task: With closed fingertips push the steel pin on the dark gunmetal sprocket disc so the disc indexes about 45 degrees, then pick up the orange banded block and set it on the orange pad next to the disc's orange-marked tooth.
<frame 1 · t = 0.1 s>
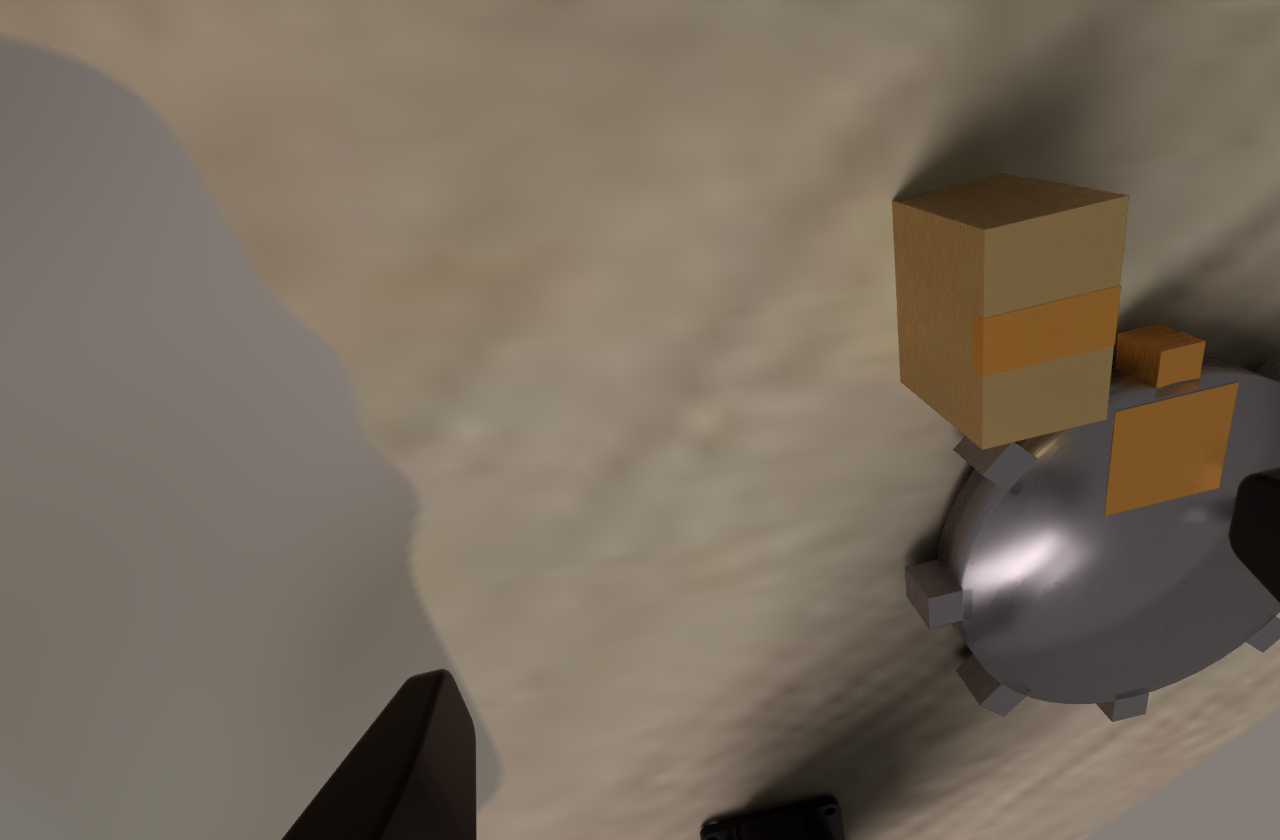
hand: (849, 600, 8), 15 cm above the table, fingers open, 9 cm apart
sprocket: (1177, 578, 24), point 3 cm above the table, hinge at 0.0°
orange banded block: (948, 283, 22), on the table
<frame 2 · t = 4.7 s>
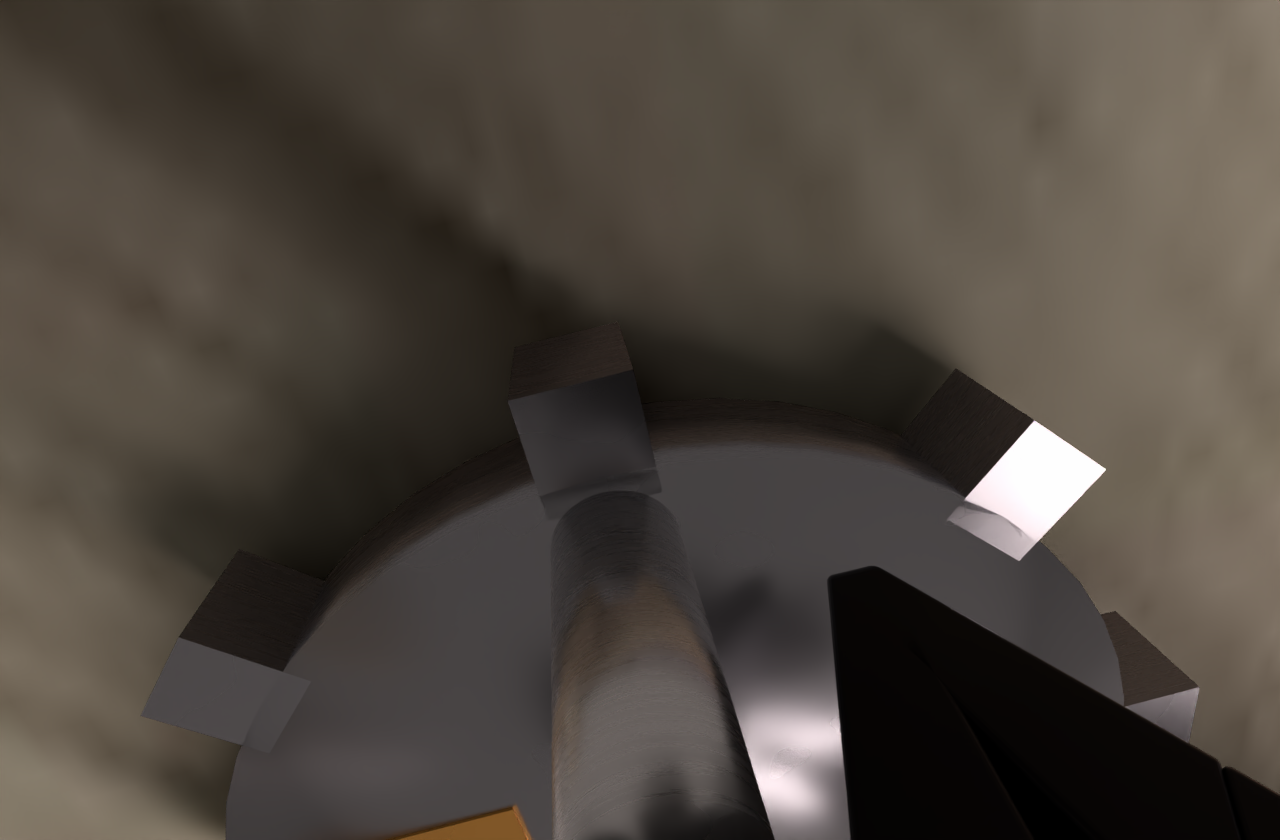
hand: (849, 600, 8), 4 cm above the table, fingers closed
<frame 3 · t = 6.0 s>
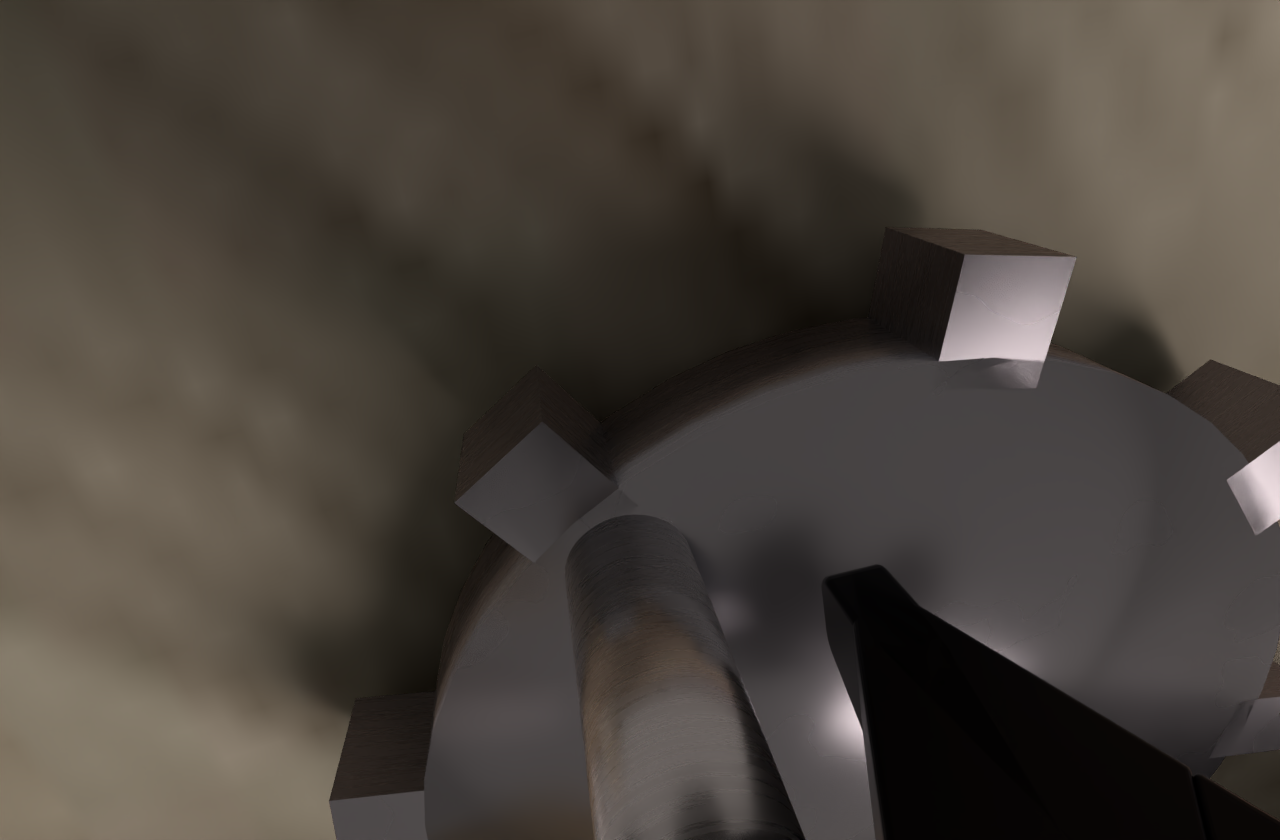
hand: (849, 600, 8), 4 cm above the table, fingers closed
sprocket: (914, 836, 10), point 3 cm above the table, hinge at 29.6°, touching gripper
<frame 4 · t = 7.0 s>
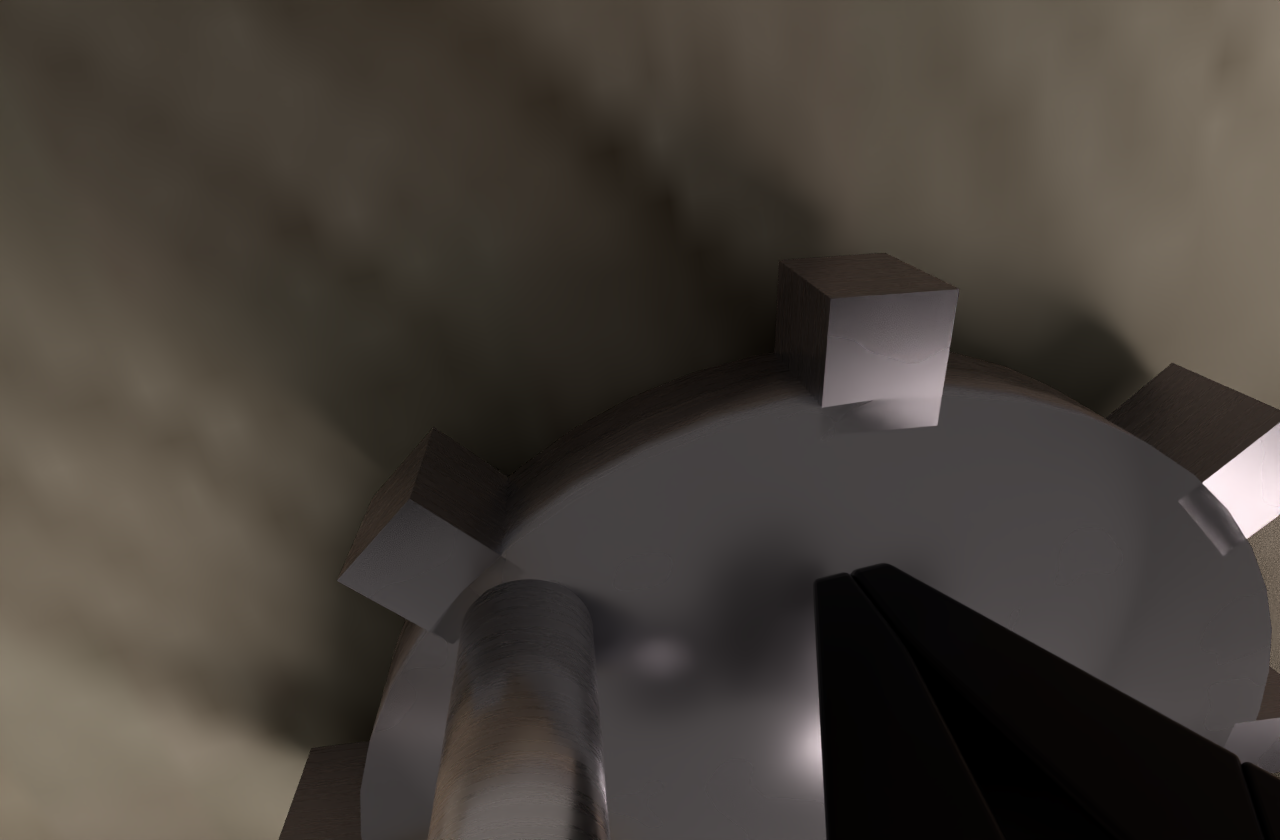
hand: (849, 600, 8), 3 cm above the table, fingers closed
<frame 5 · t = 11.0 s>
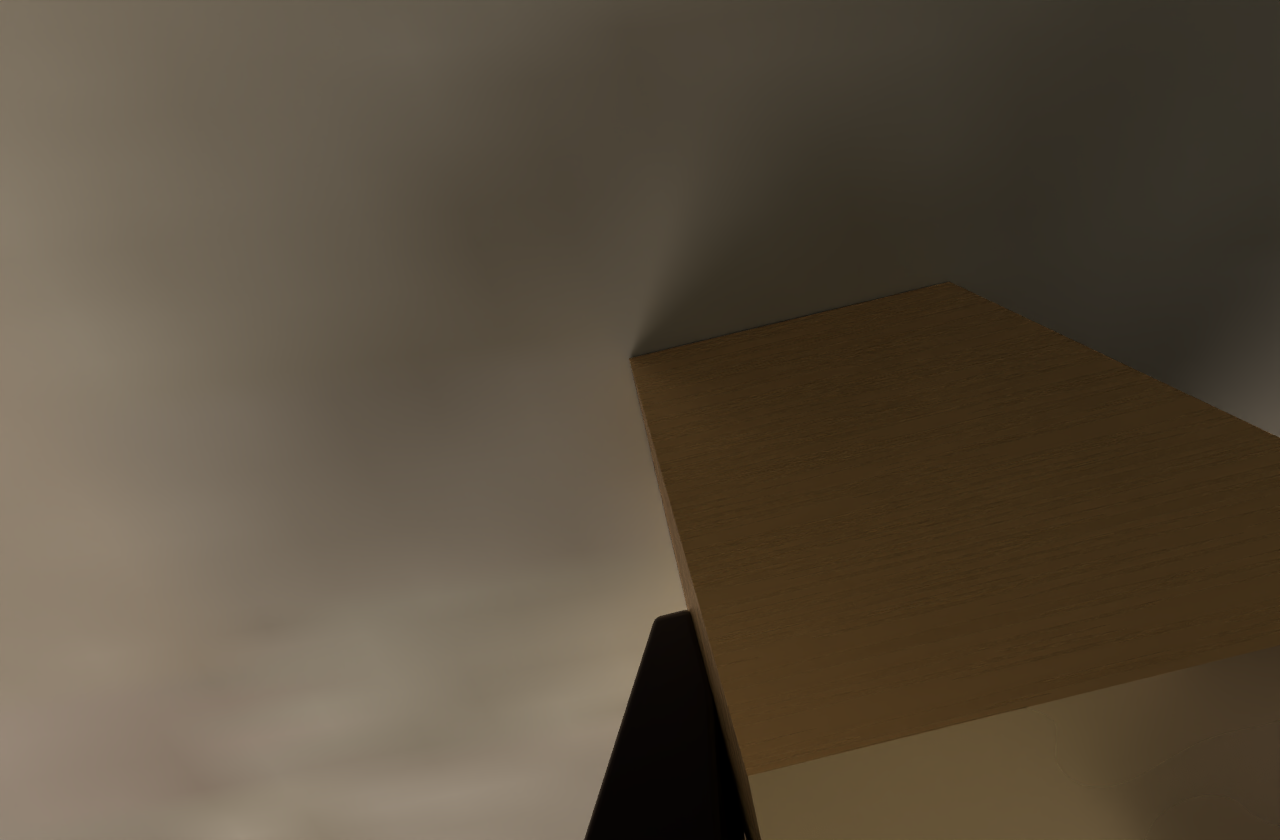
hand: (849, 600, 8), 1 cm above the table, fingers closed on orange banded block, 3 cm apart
orange banded block: (816, 545, 9), on the table, touching gripper
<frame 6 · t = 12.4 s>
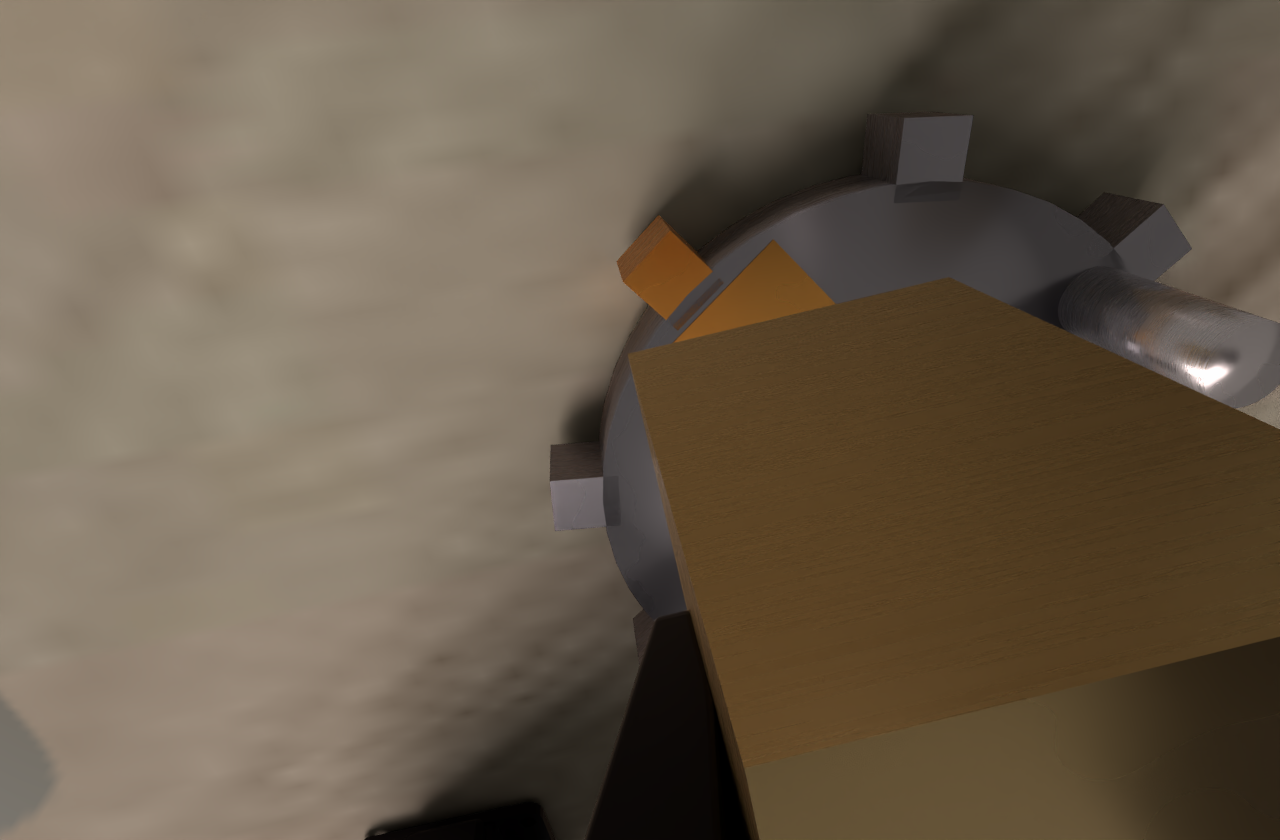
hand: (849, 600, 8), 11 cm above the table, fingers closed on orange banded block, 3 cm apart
sprocket: (906, 502, 16), point 4 cm above the table, hinge at 36.2°
orange banded block: (815, 542, 9), point 10 cm above the table, touching gripper
when the fingers open (5 cm above the table, at t = 14.0 s): orange banded block drops 1 cm, resting on sprocket.
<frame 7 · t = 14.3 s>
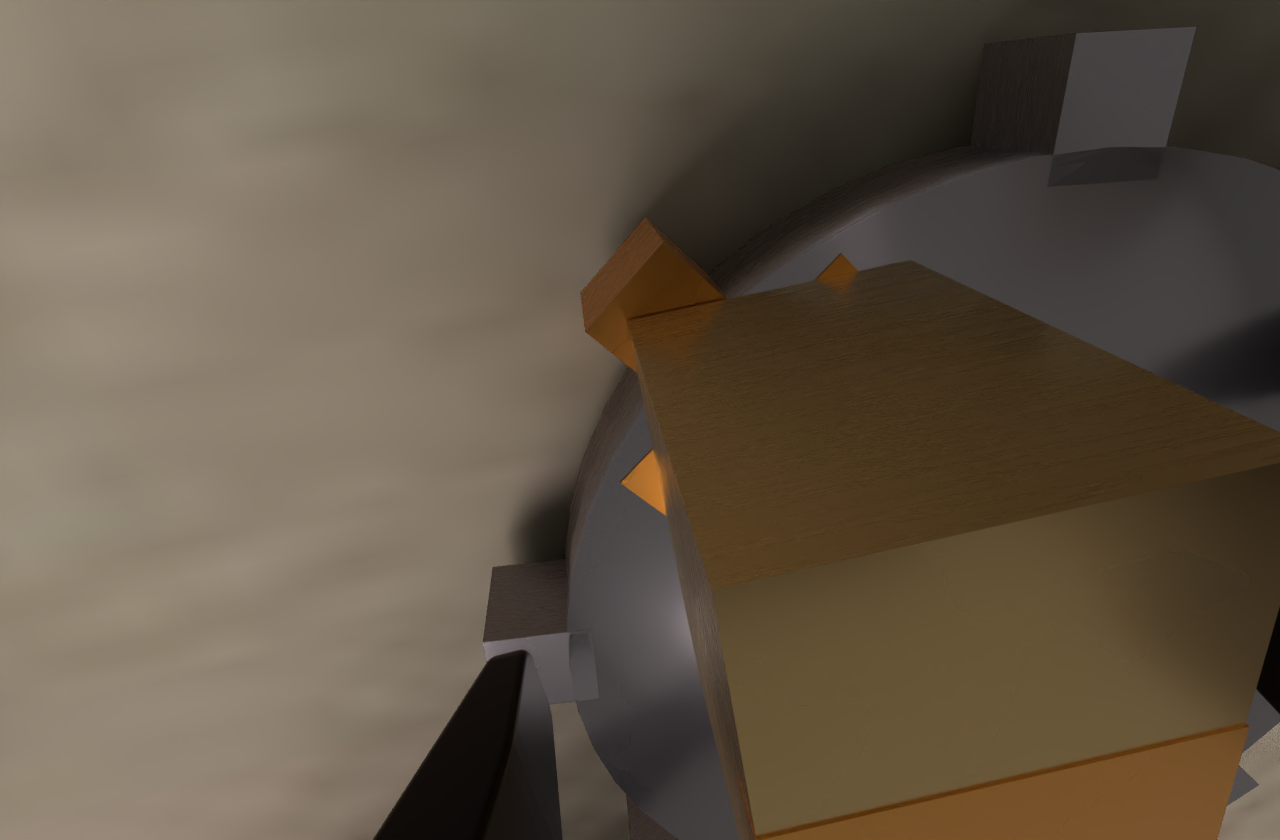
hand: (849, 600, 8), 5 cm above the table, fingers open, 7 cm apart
sprocket: (1050, 665, 10), point 4 cm above the table, hinge at 36.2°, touching orange banded block
orange banded block: (791, 497, 10), point 2 cm above the table, touching sprocket
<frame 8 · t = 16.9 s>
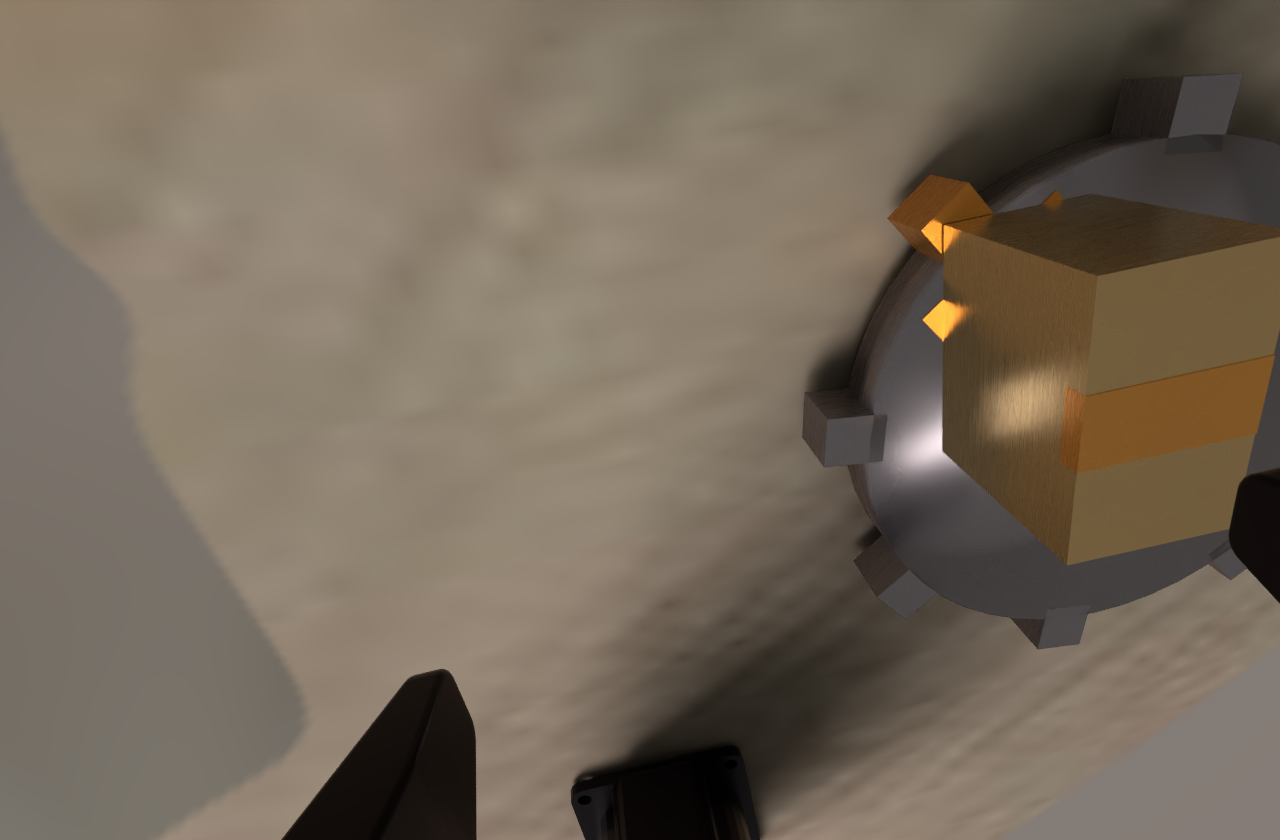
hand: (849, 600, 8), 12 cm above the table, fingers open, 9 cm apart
sprocket: (1153, 432, 18), point 3 cm above the table, hinge at 36.2°, touching orange banded block
orange banded block: (1011, 331, 17), point 2 cm above the table, touching sprocket
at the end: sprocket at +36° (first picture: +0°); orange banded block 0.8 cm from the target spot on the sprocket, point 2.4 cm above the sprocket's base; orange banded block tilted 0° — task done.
